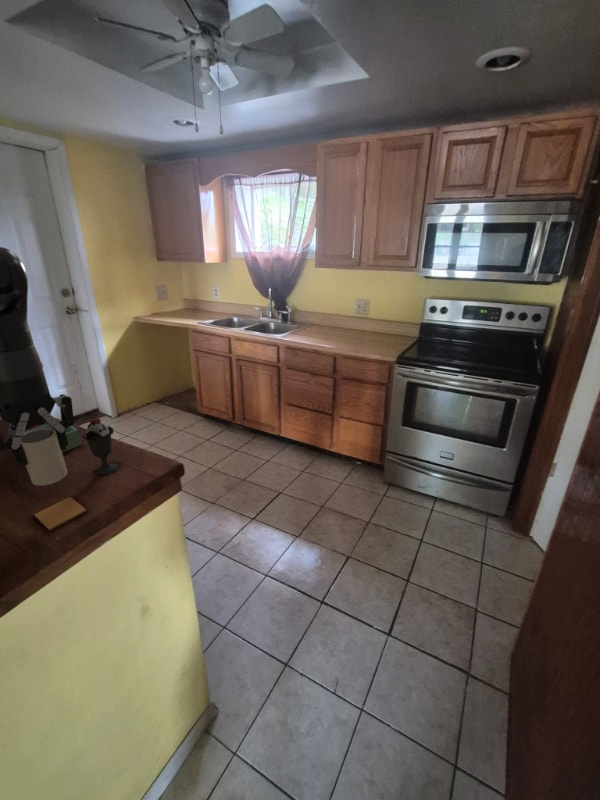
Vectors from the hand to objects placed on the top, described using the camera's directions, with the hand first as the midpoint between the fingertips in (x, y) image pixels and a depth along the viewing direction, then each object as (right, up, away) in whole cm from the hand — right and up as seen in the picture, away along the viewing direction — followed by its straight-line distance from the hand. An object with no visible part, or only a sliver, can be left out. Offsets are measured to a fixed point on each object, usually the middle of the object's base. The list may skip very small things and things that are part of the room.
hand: (43, 455), depth 70 cm
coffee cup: (0, -4, +2) cm, 5 cm away
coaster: (0, -13, +5) cm, 14 cm away
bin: (-17, -2, +29) cm, 34 cm away
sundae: (+1, -6, +20) cm, 21 cm away
